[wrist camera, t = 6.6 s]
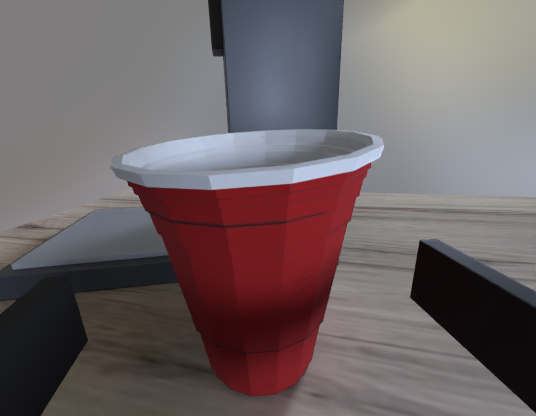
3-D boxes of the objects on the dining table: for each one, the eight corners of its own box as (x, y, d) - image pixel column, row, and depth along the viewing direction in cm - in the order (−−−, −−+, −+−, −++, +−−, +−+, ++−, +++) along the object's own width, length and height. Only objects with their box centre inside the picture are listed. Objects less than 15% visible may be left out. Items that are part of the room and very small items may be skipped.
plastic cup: (109, 387, 13) (40, 139, 9) (237, 279, 22) (227, 130, 18) (318, 553, 8) (344, 143, 4) (375, 323, 17) (399, 127, 13)
